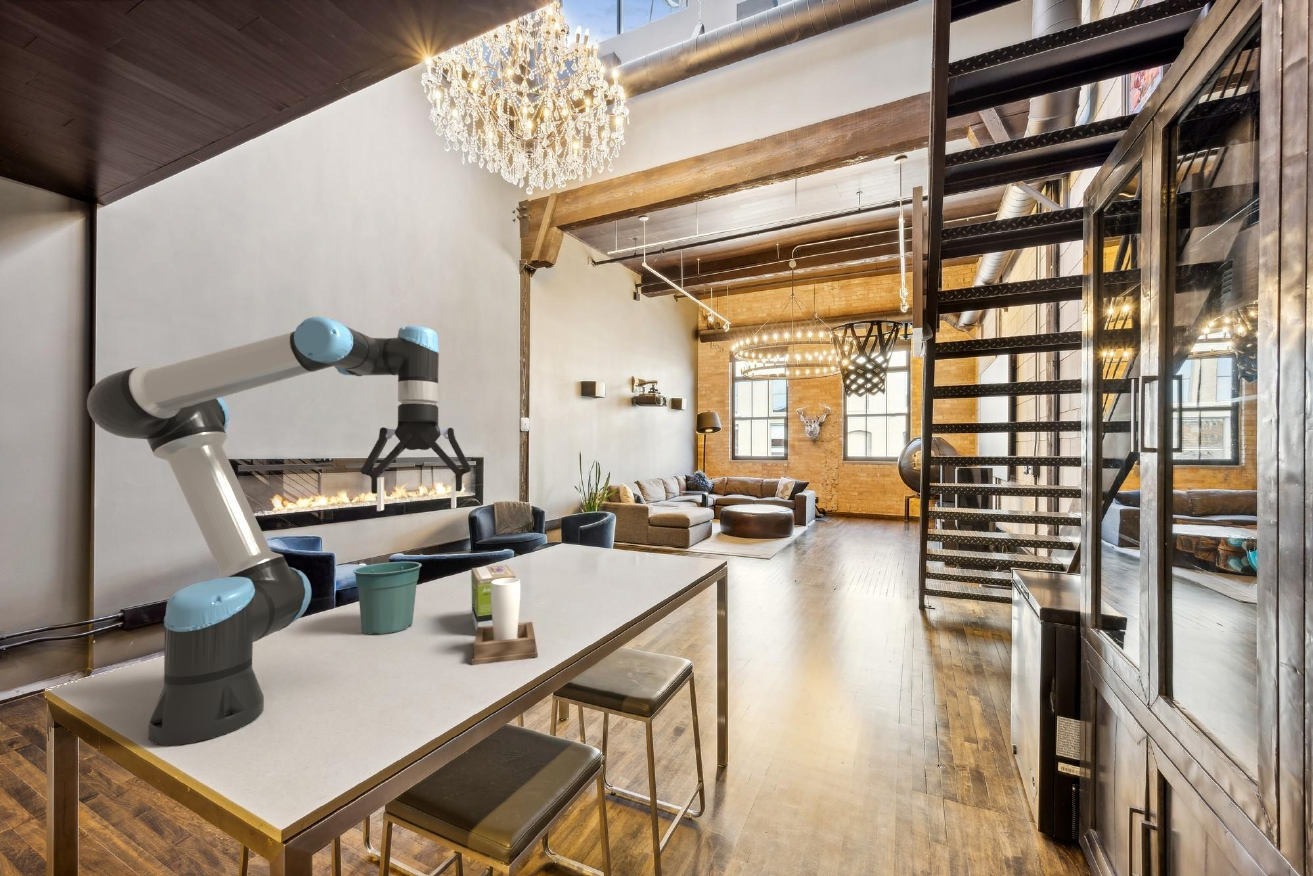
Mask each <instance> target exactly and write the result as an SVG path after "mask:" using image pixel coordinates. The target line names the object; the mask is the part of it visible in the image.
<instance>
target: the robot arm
mask: <svg viewBox="0 0 1313 876" xmlns="http://www.w3.org/2000/svg"><path fill="white" fill-rule="evenodd" d="M439 357H440V350H439V336H438V334H437V332H436V331H435V330H433V329H432V328H429V327H426V326H420V325H419V326H417V325H407V326H401V327H400V328H399V329H398V331H397V337H389V338H388V337H385V338H384V337H370V336H368V335H366V334H363V333H361V332H359V331H357V330H354V329H352V328H350V327H348V326H346V325H345V324H343V323H341V322H339V321H337V320H335V319H329V318H326V317H322V316H312V317H308V318H305V319H304V320H302V322H300V324H298V326H297V327H296V329H295V330H294V331H290V332H288V333H283V334H280V335H275V336H272V337H268V338H264V339H262V340H261V339H260V340H257V341H254V342H249V343H245V344H243V345H242V344H241V345H238V346H234V347H231V348H228V349H223V350H221V351H216V352H212V353H208V354H205V355H201V356H197V357H193V358H191V359H186V360H182V361H180V362H175V363H171V364H167V365H164V366H160V367H155V366H153V365H152V366H151V365H146V364H145V365H140V366H136V367H134V368H133V367H132V368H129V369H125V370H121V371H119V372H116V373H112V374H109V375H108V376H106V377H104V378H102V379H101V380H99V381H98V382H97V383H95V385H94V386H93V387H92V388H91V389H90V391H89V393H88V396H87V401H86V407H87V411H88V414H89V416H90V418H91V419H92V420H93V422H94V423H95V424H96V425H98V426H99V428H101V429H103V430H104V431H106V432H107V433H109V434H112V435H115V436H117V437H121V438H126V439H136V440H137V439H138V440H139V439H140V440H147V443H148V445H149V447H150V449H151V451H152V454H153V456H154V457H155V458H157V459H161V460H165V461H167V462H168V464H169V465H170V467H171V470H172V472H173V474H174V476H175V478H176V480H177V482H178V485H179V487H180V489H181V491H182V493H183V495H184V498H185V499H186V502H187V504H188V506H189V508H190V511H191V513H192V515H193V516H194V520H195V522H196V523H197V526H198V528H199V530H200V532H201V534H202V536H203V538H204V541H205V542H206V545H207V547H208V549H209V551H210V554H211V555H212V558H213V560H214V562H215V564H216V566H217V569H218V570H219V572H218V575H217V577H216V578H213V579H210V580H207V581H200V582H197V583H193V584H190V585H188V586H185V587H183V588H181V589H179V590H177V591H176V592H174V593H173V594H172V595H171V596H170V597H169V599H168V600H167V603H166V608H165V616H164V617H163V625H164V655H163V656H164V658H163V659H164V663H163V664H164V668H163V669H164V670H163V672H164V673H163V674H164V675H163V676H164V678H163V687H162V691H161V693H160V695H159V697H158V700H157V703H156V705H155V708H154V710H153V712H152V715H151V716H150V719H149V721H148V730H147V731H148V733H147V738H148V740H149V742H150V741H151V743H152V742H153V743H152V744H155V743H156V744H155V745H161V746H177V745H186V744H190V743H197V742H200V741H205V740H208V739H212V738H216V737H219V736H222V735H225V734H229V733H231V732H234V731H236V730H239V729H240V728H243V727H244V726H246V725H249V724H250V723H252V722H253V721H255V720H256V719H257V718H259V717H260V716H261V715H262V713H263V712H264V710H265V708H264V707H265V706H264V705H265V704H264V703H265V698H264V694H263V691H262V689H261V686H260V684H259V681H258V678H257V676H256V674H255V672H254V668H253V654H254V652H253V649H254V647H253V646H254V645H253V644H254V643H255V642H257V641H259V640H261V639H263V638H266V637H267V636H269V635H272V634H274V633H276V632H279V631H282V630H283V629H285V628H287V627H288V626H290V625H291V624H293V623H294V622H295V621H297V620H298V619H300V618H301V617H302V616H303V615H304V613H305V612H306V610H307V608H308V607H309V604H310V603H311V599H312V587H311V586H312V585H311V583H310V580H309V579H308V577H307V575H306V574H305V573H304V572H302V571H301V570H300V569H299V570H298V569H296V568H295V567H291V566H289V565H288V563H287V561H286V558H285V557H284V554H282V553H278V552H274V551H272V550H271V548H270V546H269V544H268V542H267V540H266V537H265V535H264V533H263V531H262V529H261V526H260V525H259V523H258V521H257V519H256V515H255V514H254V512H253V510H252V507H251V506H250V503H249V502H248V499H247V496H246V494H245V493H244V491H243V488H242V486H241V484H240V481H239V479H238V478H237V477H238V476H237V475H236V474H235V471H234V469H233V467H232V465H231V462H230V461H229V459H228V456H227V454H226V451H225V450H224V447H223V444H224V443H225V442H226V440H227V439H228V434H227V432H226V429H227V428H228V424H227V422H229V421H230V411H229V408H228V405H227V403H226V402H225V401H224V399H223V397H227V396H231V395H233V394H237V393H241V392H245V391H248V390H252V389H255V388H259V387H263V386H266V385H270V384H273V383H277V382H281V381H283V380H288V379H292V378H295V377H297V376H298V377H299V376H302V375H305V374H309V373H313V372H318V371H321V370H325V369H328V368H333V367H334V369H336V370H337V372H338V373H340V374H341V375H345V376H356V377H363V376H397V378H398V379H397V401H398V403H400V404H398V405H397V426H396V429H395V428H394V429H393V428H387V427H380V428H379V433H378V438H377V440H376V443H375V444H374V446H373V448H372V450H371V451H370V453H369V454H368V457H367V459H366V460H365V461H364V463H363V466H362V468H361V469H360V473H361V474H362V475H366V476H369V477H370V478H371V480H370V481H371V482H370V483H371V484H370V485H371V494H372V495H373V494H375V495H376V512H381V511H384V510H385V477H384V476H382V474H383V473H384V472H385V471H386V470H387V468H388V467H389V466H390V465H391V464H392V463H393V462H394V461H395V460H396V459H397V458H398V457H399V456H400V455H401V453H402V452H404V451H405V450H408V451H416V450H421V451H427V450H429V449H431V450H432V451H433V452H434V453H435V454H436V455H437V456H438V457H439V458H440V459H441V460H442V461H443V462H444V464H445V465H446V466H447V467H448V468H449V469H450V470H451V471H452V473H453V474H454V475H451V476H450V479H451V480H450V484H451V487H450V489H451V490H450V493H451V495H450V496H451V497H450V499H451V500H450V507H451V508H450V509H456V508H457V492H461V491H462V489H463V475H465V474H468V473H470V472H471V471H472V468H471V465H470V463H469V462H468V460H467V458H466V455H465V454H464V452H463V450H462V449H461V446H460V444H459V442H458V441H457V439H456V432H455V429H454V428H453V427H448V428H443V429H440V426H439V406H438V405H436V404H438V403H439V366H440V365H439V363H440V360H439V359H440V358H439ZM394 435H395V437H396V438H397V440H398V441H399V442H398V443H397V444H396V445H395V446H394V448H392V450H391V451H390V452H389V453H388V454H387V455H386V457H384V458H383V459H382V461H381V462H380V463H379V464H378V465H377V466H376V467H375V468H374V466H375V464H376V462H377V460H378V458H379V457H380V455H381V454H382V451H383V450H384V448H385V446H386V445H387V442H388V440H390V439H392V437H393V436H394ZM441 436H443V437H444V439H445V440H448V442H449V444H450V446H451V448H452V449H453V452H454V453H455V455H456V457H457V459H458V461H459V463H460V465H461V466H462V468H460V467H459V466H458V465H457V464H456V462H455V461H453V460H452V458H450V456H449V455H448V454H447V453H446V452H445V451H444V450H443V448H441V446H440V445H439V444H438V442H437V440H438V439H439V438H440V437H441ZM373 468H374V469H373Z"/></svg>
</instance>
